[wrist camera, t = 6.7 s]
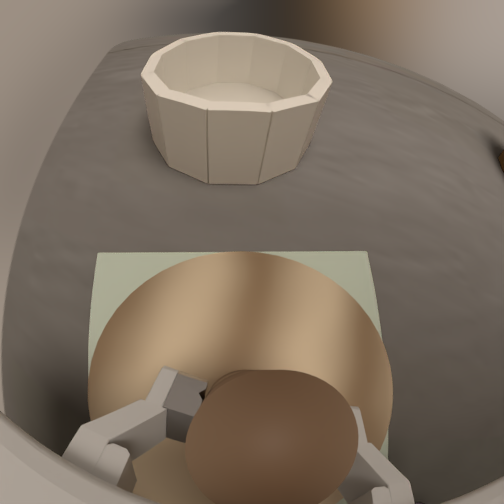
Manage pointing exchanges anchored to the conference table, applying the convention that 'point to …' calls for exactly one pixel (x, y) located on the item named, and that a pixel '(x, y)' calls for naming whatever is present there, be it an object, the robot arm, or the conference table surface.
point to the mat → (149, 264)
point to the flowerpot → (502, 160)
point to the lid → (248, 379)
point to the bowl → (233, 105)
